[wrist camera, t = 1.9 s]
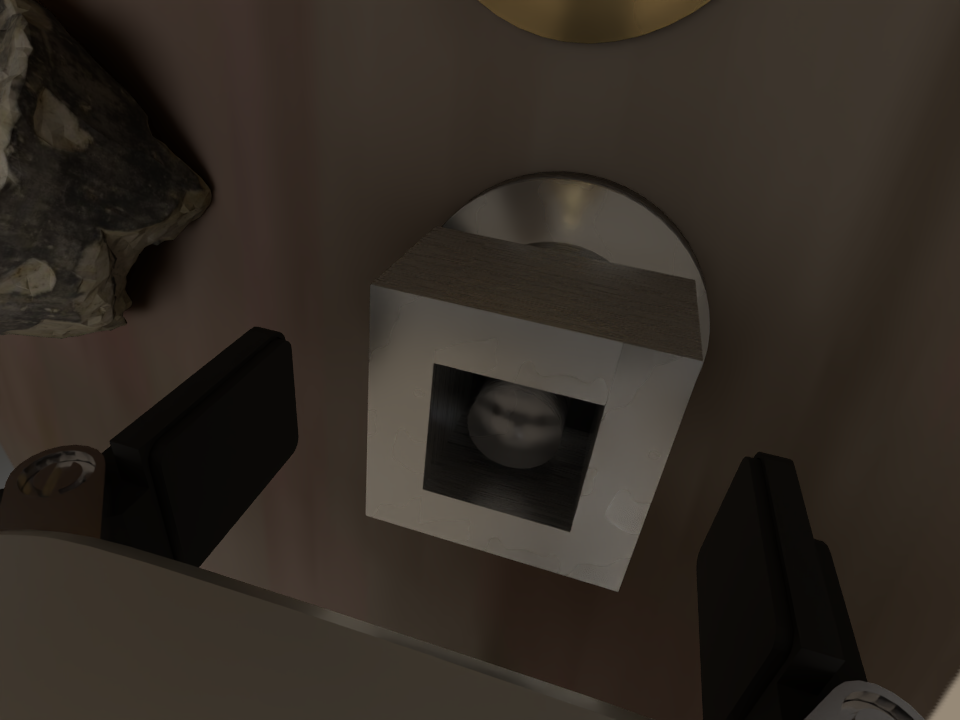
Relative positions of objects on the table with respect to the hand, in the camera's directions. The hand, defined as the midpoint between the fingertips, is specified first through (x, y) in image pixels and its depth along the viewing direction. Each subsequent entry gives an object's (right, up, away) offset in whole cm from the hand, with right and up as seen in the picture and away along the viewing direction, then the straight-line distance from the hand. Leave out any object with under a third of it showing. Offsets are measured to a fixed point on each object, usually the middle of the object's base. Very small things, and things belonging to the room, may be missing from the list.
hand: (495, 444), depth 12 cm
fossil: (-14, +9, +9) cm, 19 cm away
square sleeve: (+1, +2, +4) cm, 5 cm away
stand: (+2, +3, +7) cm, 8 cm away
